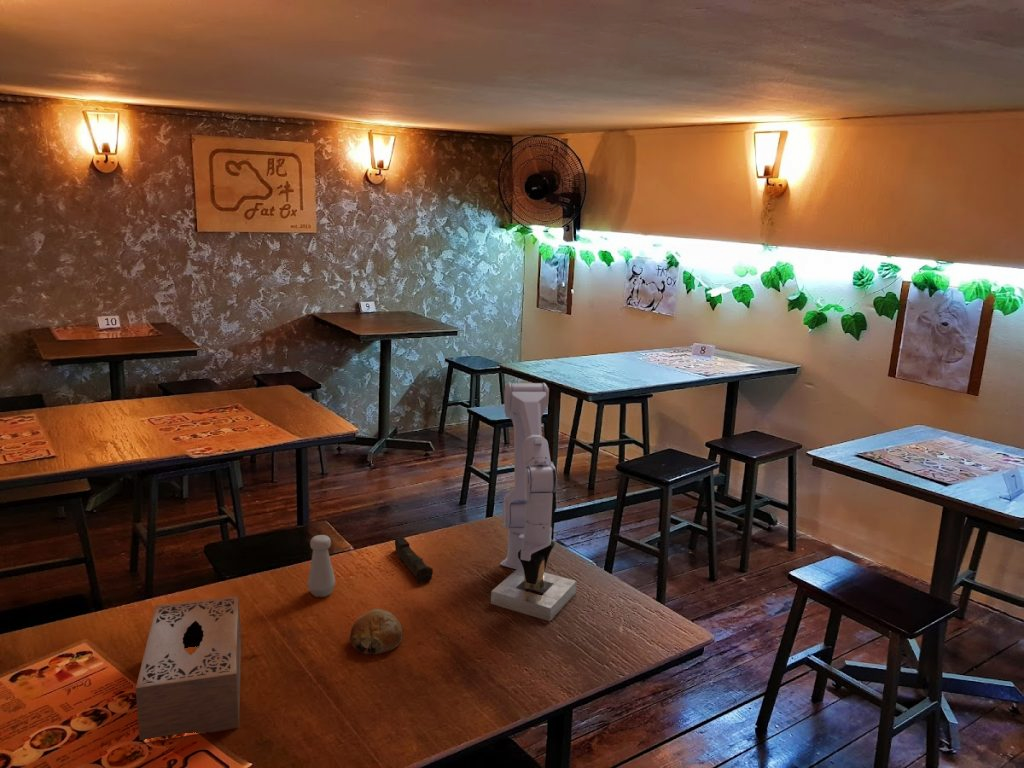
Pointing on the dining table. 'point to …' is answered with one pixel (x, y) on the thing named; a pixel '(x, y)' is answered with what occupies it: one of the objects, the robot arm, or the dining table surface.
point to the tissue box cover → (191, 669)
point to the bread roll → (376, 632)
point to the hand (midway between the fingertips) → (535, 577)
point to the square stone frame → (534, 595)
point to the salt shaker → (321, 567)
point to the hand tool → (412, 561)
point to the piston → (540, 579)
